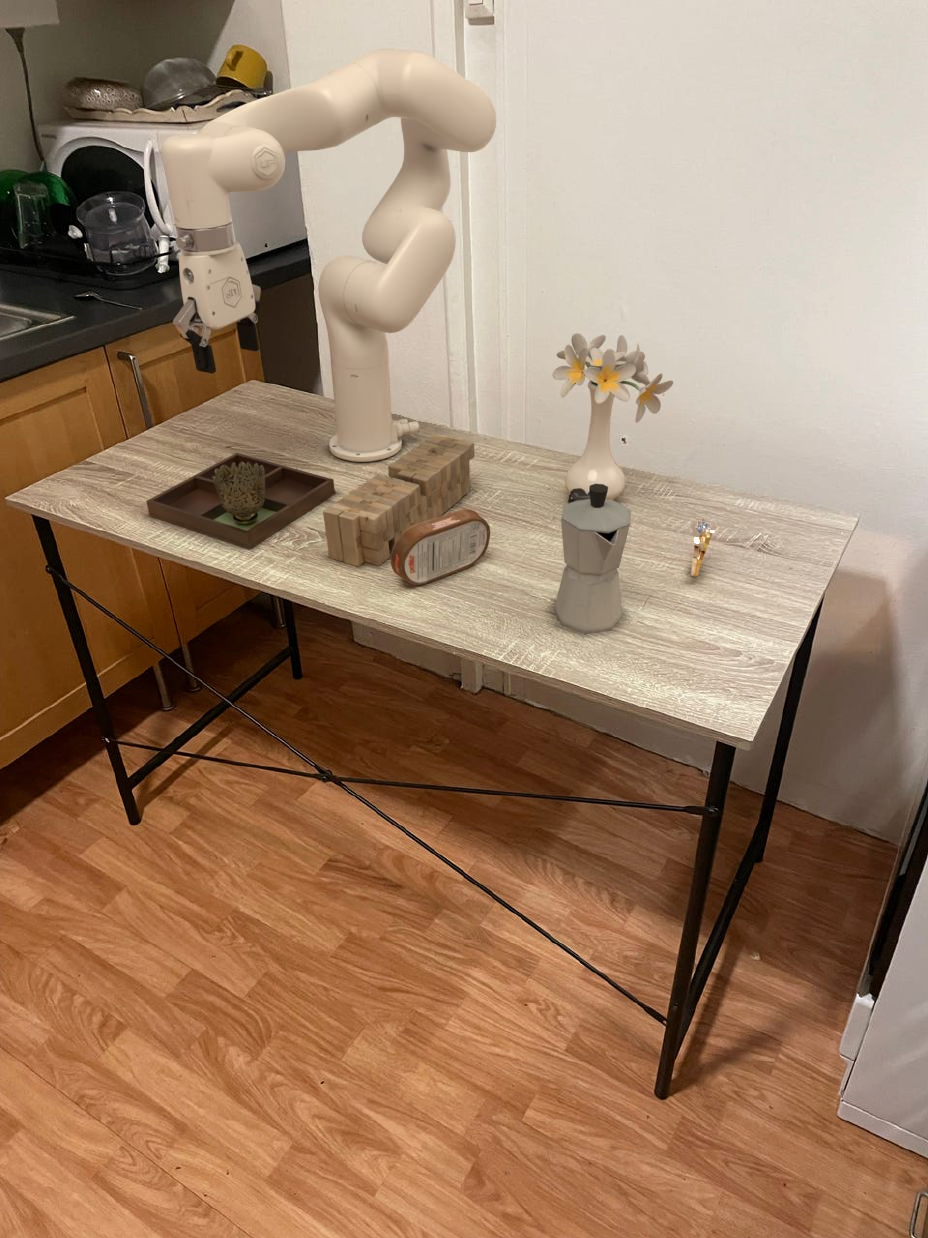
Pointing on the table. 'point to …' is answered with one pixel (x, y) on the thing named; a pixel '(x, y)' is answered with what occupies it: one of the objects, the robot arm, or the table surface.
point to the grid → (205, 514)
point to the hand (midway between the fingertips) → (228, 360)
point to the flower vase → (605, 404)
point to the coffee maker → (591, 560)
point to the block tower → (398, 500)
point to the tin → (440, 546)
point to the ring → (700, 543)
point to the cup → (241, 490)
